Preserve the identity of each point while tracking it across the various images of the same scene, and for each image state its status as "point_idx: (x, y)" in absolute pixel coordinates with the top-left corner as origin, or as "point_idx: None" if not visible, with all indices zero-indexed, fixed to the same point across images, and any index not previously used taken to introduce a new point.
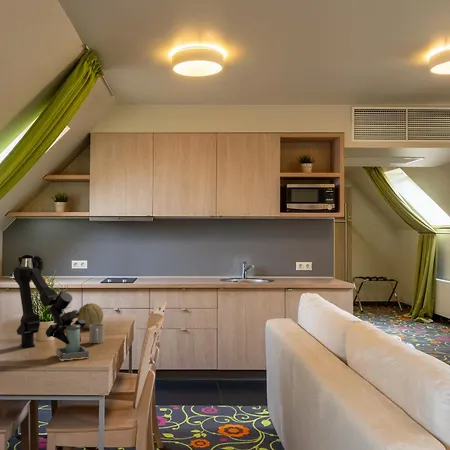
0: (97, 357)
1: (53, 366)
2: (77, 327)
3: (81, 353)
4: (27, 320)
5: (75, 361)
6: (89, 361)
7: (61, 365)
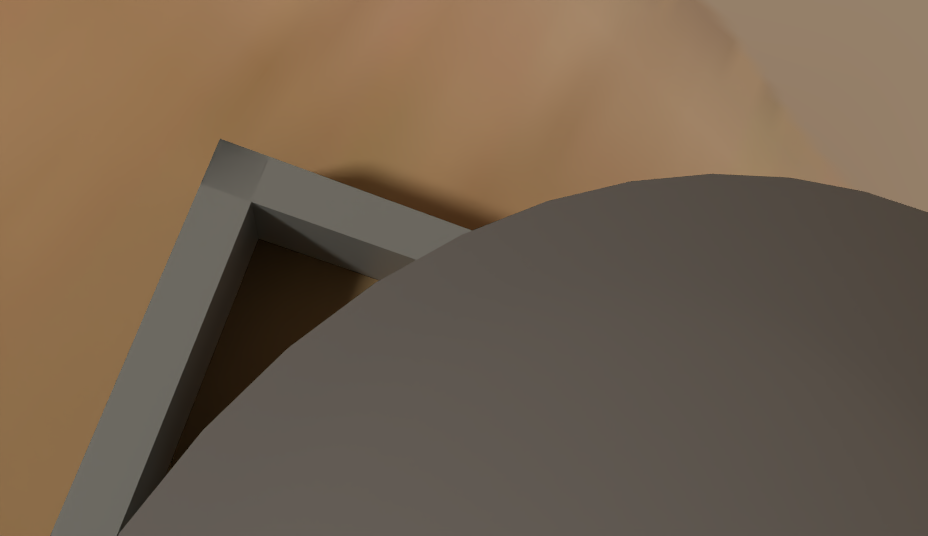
0: (58, 128)
1: (833, 181)
2: (640, 205)
3: (366, 201)
4: None
5: (496, 185)
6: (329, 21)
7: (738, 145)
